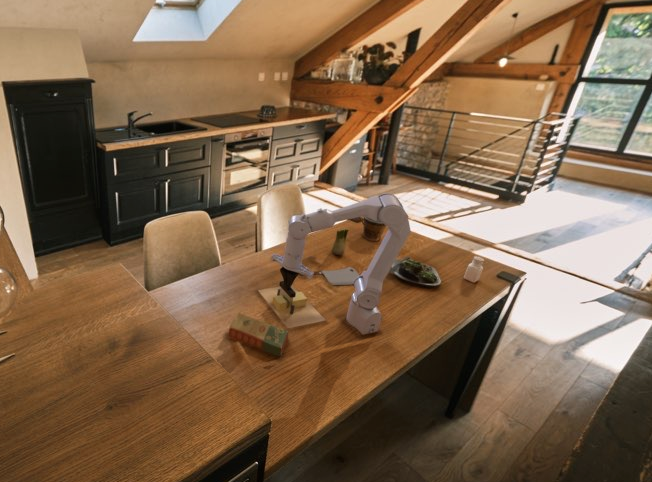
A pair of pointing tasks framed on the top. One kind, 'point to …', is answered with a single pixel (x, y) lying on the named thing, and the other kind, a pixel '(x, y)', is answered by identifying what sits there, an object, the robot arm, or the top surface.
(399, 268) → the salad plate
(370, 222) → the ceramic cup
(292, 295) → the dough scraper
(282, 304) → the butter slice
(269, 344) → the carton
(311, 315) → the board
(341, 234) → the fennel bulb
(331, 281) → the kitchen cleaver
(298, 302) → the butter block
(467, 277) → the pepper shaker
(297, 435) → the top surface
